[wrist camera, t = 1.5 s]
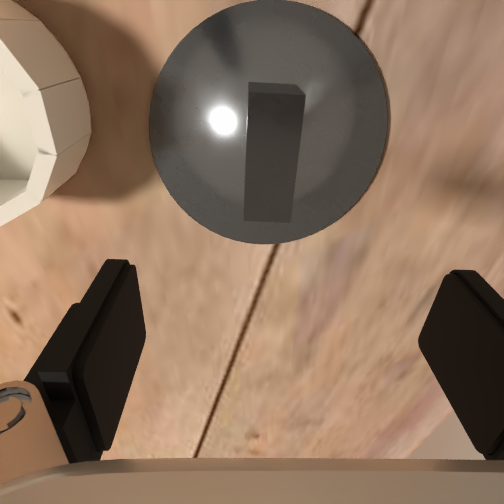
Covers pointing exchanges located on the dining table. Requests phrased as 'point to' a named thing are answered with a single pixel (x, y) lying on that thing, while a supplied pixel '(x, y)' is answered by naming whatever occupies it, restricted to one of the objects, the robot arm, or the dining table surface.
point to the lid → (268, 121)
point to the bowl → (37, 112)
